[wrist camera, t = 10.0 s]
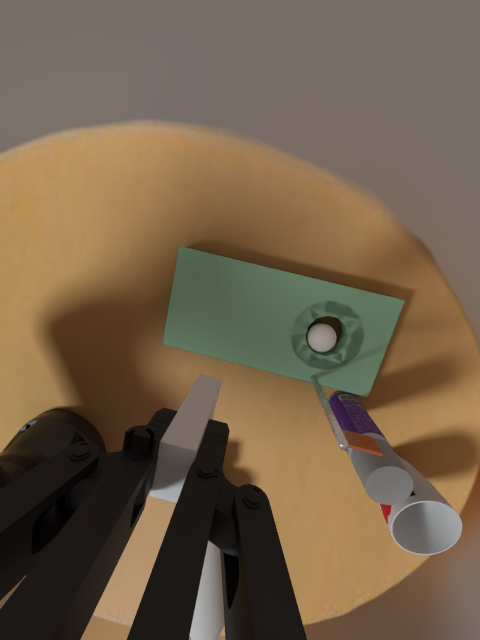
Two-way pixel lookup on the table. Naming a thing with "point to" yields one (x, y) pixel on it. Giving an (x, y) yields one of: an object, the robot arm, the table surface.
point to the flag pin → (343, 436)
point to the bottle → (209, 599)
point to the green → (277, 320)
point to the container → (374, 471)
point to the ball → (321, 337)
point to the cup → (422, 518)
